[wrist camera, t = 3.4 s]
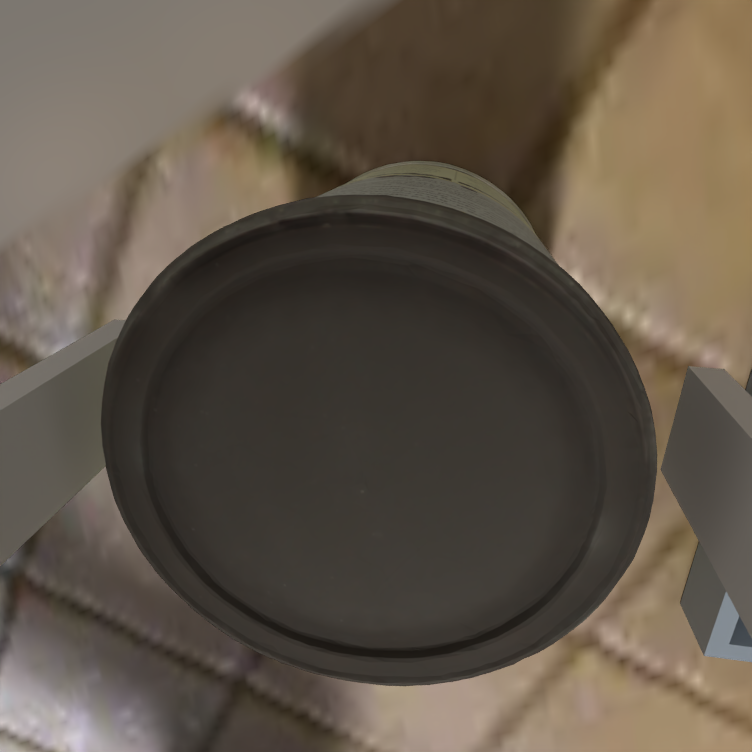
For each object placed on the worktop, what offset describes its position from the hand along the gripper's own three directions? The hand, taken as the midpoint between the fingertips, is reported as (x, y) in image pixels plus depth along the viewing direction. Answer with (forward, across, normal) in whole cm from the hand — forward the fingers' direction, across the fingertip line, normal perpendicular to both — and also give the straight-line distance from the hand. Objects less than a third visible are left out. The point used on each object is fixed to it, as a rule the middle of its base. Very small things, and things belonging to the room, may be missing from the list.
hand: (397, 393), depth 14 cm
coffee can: (+10, 0, 0) cm, 10 cm away
